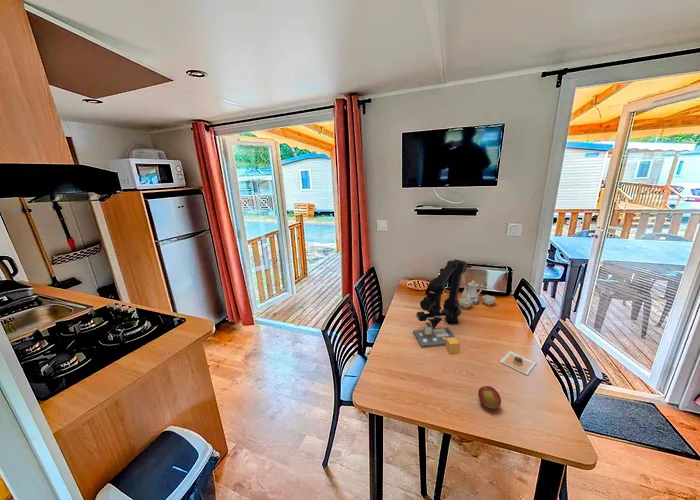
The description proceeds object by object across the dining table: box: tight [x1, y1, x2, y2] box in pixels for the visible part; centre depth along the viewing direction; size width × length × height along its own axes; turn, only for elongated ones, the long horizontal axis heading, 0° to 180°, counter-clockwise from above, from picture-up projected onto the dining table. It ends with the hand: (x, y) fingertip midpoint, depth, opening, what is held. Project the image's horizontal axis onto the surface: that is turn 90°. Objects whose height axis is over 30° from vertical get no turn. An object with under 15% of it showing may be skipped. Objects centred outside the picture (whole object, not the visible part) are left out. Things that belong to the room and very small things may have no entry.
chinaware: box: [458, 280, 497, 310], centre depth 183 cm, size 28×17×17 cm, turn 105°
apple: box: [477, 385, 502, 410], centre depth 106 cm, size 8×8×8 cm
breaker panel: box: [412, 326, 461, 349], centre depth 149 cm, size 21×14×2 cm, turn 95°
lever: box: [424, 321, 433, 335], centre depth 150 cm, size 3×4×6 cm
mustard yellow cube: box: [444, 336, 461, 355], centre depth 138 cm, size 5×5×6 cm
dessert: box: [499, 350, 537, 376], centre depth 128 cm, size 12×12×5 cm
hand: (433, 328), depth 150 cm, fingers closed
